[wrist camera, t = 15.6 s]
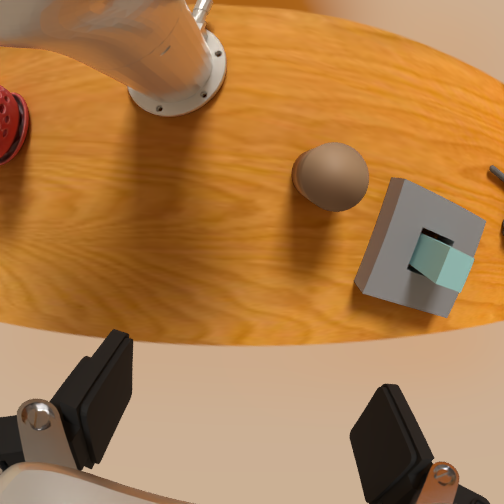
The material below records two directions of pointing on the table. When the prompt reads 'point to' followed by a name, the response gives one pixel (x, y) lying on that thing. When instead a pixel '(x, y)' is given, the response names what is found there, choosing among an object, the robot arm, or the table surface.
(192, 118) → the table surface
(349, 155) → the round plug
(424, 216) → the socket block
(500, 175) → the walkie-talkie
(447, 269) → the square peg
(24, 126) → the plant pot
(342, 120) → the table surface
